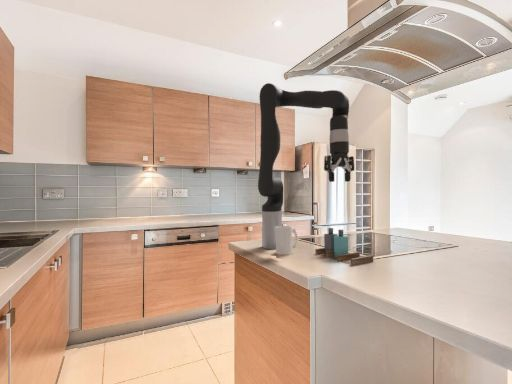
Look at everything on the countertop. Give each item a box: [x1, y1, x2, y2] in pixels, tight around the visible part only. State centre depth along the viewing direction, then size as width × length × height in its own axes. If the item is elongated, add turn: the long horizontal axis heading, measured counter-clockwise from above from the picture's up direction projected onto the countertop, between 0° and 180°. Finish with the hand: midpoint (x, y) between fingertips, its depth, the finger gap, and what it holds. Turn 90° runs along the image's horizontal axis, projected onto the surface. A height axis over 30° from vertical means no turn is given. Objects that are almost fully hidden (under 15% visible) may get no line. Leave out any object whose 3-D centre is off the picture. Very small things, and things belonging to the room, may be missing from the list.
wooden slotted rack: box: [314, 247, 374, 266], centre depth 107 cm, size 20×10×3 cm, turn 28°
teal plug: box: [334, 229, 349, 258], centre depth 107 cm, size 4×4×10 cm
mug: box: [275, 225, 298, 256], centre depth 116 cm, size 10×7×12 cm, turn 116°
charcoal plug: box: [323, 227, 339, 254], centre depth 112 cm, size 4×4×10 cm
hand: (339, 181), depth 115 cm, fingers open, 8 cm apart
